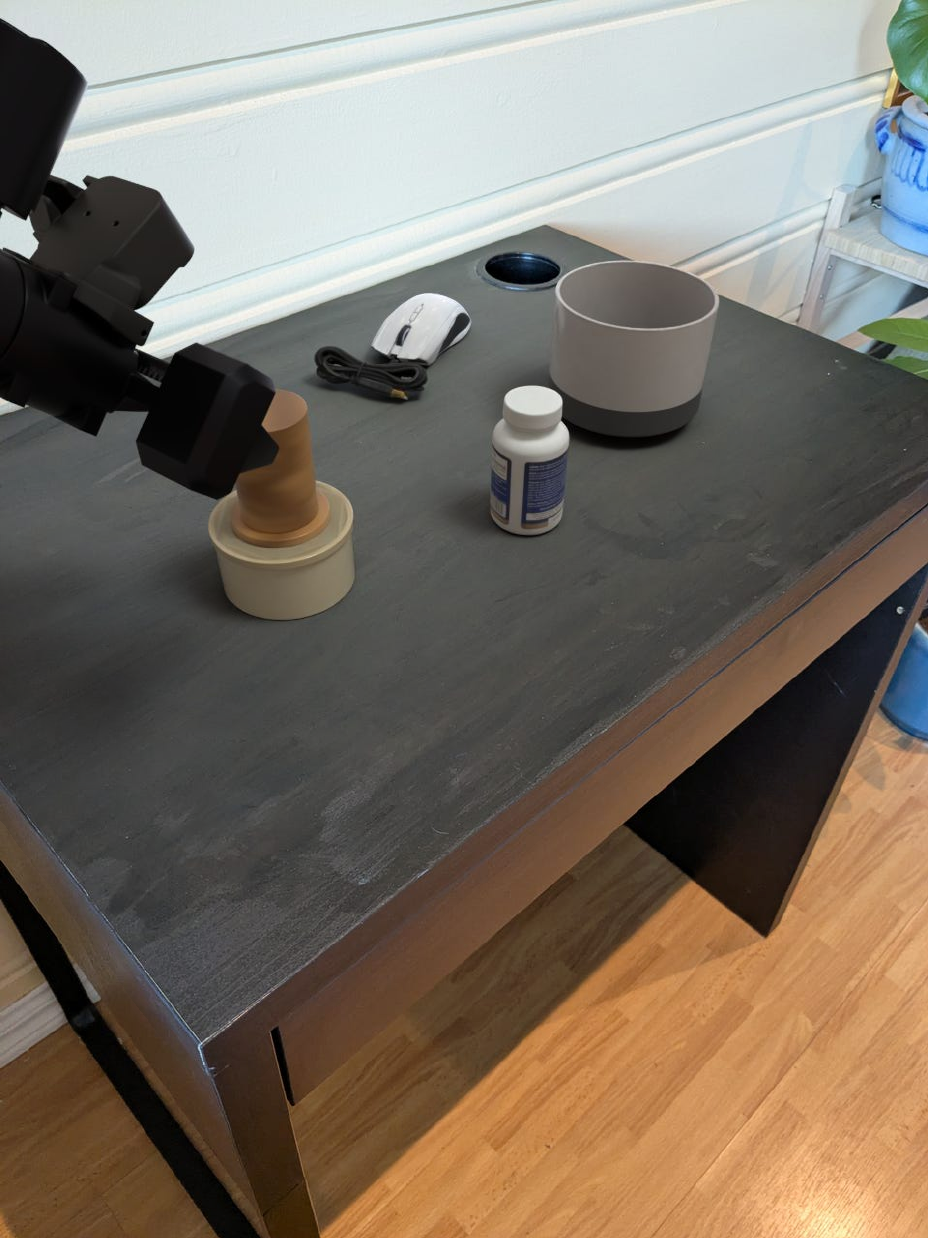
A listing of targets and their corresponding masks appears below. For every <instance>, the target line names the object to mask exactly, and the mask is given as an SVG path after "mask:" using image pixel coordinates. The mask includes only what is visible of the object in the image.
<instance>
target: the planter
mask: <svg viewBox="0 0 928 1238" xmlns="http://www.w3.org/2000/svg"><path fill="white" fill-rule="evenodd" d="M555 285H556V286H555V290H554V302H553V303H554V304H553V315H552V316H553V317H552V328H551V329H552V330H551V342H550V353H549V354H550V355H549V366H548V367H549V370H548V380H547V388H549V389H551V390H554V391H555V392H557V393H558V394H559V395H560V396H561V398H562V402H563V403H562V418H563V419H565V420H566V421H568V422H570V423H571V424H573V425H575V426H577V427H580V428H582V429H584V430H587V431H590V432H593V433H597V434H601V435H606V436H612V437H618V438H619V437H621V438H645V437H653V436H660V435H664V434H667V433H670V432H673V431H676V430H677V429H679V428H682V427H684V426H685V425H686V424H688V423H690V422H691V420H693V419H694V417H695V416H696V414H697V413H698V411H699V407H700V403H701V399H702V393H703V387H704V384H705V378H706V372H707V367H708V363H709V357H710V353H711V348H712V343H713V337H714V332H715V327H716V322H717V316H718V313H719V307H720V296H719V293H718V292H717V291H716V289H715V288H714V286H712V285H711V284H710V283H709V282H708V281H707V280H705V279H703V278H702V277H700V276H698V275H696V274H694V273H692V272H690V271H688V270H684V269H681V268H678V267H676V266H672V265H668V264H664V263H657V262H652V261H642V260H641V261H640V260H609V261H601V262H595V263H590V264H586V265H582V266H580V267H577V268H575V269H572V270H571V271H569V272H567V273H566V274H564V275H562V277H561V278H560V279H559V280H558V281H557V283H556V284H555Z"/></svg>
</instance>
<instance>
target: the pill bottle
mask: <svg viewBox="0 0 928 1238" xmlns="http://www.w3.org/2000/svg"><path fill="white" fill-rule="evenodd" d="M562 403H563V402H562V398H561V396H560V395H559V394H558V393H557V392H555V391H554V390H551V389H549V388H548V387H545V386H540V385H523V386H519V387H516V388H513V389H511V390H509V391H508V392H507V393H505V396H504V398H503V407H502V418H501V419H500V420H499V421H498V422H497V423H496V425H495V427H494V428H493V432H492V437H491V438H492V439H491V440H492V442H491V466H490V468H491V472H490V473H491V474H490V515H491V519H492V520H493V521H494V523H495V524H496V525H497V526H498V527H499V528H501V529H503V530H505V531H507V532H509V533H512V534H516V535H523V536H535V535H541V534H544V533H546V532H547V533H548V532H549V531H552V530H553V529H554V528H555V527H557V526H558V524H559V523H560V521H561V520H562V517H563V511H564V502H565V500H564V499H565V491H566V480H567V469H568V458H569V448H570V432H569V430H568V427H567V426H566V425H565V424H564V422H563V421H562V418H563V417H562Z"/></svg>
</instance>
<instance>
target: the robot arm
mask: <svg viewBox="0 0 928 1238" xmlns="http://www.w3.org/2000/svg"><path fill="white" fill-rule="evenodd" d="M88 83H89V82H88V80H87V79H86V77H85V76H84V74H83V73H82V72H81V71H80V69H78V67H77V66H76V65H75V64H74V63H73V62H71V61H70V60H69V59H68V58H67V57H66V56H65V55H64V54H63V53H61V52H60V50H58V49H56V48H55V47H54V46H53V45H52V44H51V43H49V42H47V41H45V40H43V39H41V38H37V37H33V36H30V35H28V34H27V33H25V32H24V31H22V30H21V29H19V28H17V27H16V26H15V25H12V24H11V23H10V22H9V21H6V20H5V19H3V18H2V17H0V219H2V217H3V214H4V213H3V211H6V212H7V213H9V214H11V215H13V216H14V217H16V218H19V219H20V220H23V221H26V222H27V221H28V218H29V222H30V225H31V227H32V230H33V232H32V236H33V237H34V238H35V239H36V241H37V242H38V244H37V248H36V249H35V251H34V252H33V254H32V255H31V256H30V258H29V257H27V256H25V255H23V254H21V253H19V252H17V251H14V250H13V249H9V248H7V247H2V248H0V399H2V400H4V401H6V402H8V403H11V404H14V405H16V406H18V407H20V408H23V409H25V408H26V406H28V407H30V408H32V409H35V410H37V411H40V412H43V413H45V414H47V415H49V416H51V417H53V418H55V419H57V420H58V421H61V422H63V423H65V424H67V425H69V426H71V427H72V428H74V429H77V430H78V431H81V432H83V433H85V434H89V435H90V436H93V437H97V436H98V435H99V432H100V431H101V428H102V425H103V423H104V421H105V419H106V416H107V414H114V412H125V413H126V412H129V413H147V414H146V417H145V419H144V421H143V423H142V425H141V428H140V430H139V433H138V434H137V437H136V439H135V444H136V449H137V452H138V456H139V460H140V463H141V466H143V467H144V468H147V469H149V470H150V471H153V472H155V473H156V474H158V475H160V476H162V477H163V478H166V479H168V480H170V481H171V482H174V483H176V484H178V485H180V486H182V487H184V488H186V489H187V490H189V491H191V492H194V493H197V494H199V495H203V496H205V497H207V498H210V499H213V500H215V501H220V499H221V500H222V499H223V498H225V497H226V496H227V495H229V494H231V493H232V492H233V489H234V487H235V486H236V485H235V483H236V480H237V478H238V476H239V474H241V473H245V472H248V471H252V470H255V469H259V468H262V467H266V466H269V465H272V464H273V462H274V460H275V458H276V456H277V454H278V452H279V445H278V444H277V443H276V442H275V440H274V439H273V438H272V437H271V436H270V434H269V433H268V432H267V431H266V429H265V428H264V427H263V426H262V423H263V420H264V418H265V416H266V414H267V412H268V409H269V407H270V405H271V403H272V400H273V398H274V396H275V394H276V392H275V389H276V388H275V384H274V381H273V377H271V376H269V375H268V374H266V373H264V372H263V371H261V370H259V369H258V368H256V367H254V366H252V365H251V364H250V363H247V362H245V361H243V360H240V359H238V358H235V357H233V356H230V355H228V354H226V353H223V352H221V351H220V350H216V349H214V348H212V347H209V346H207V345H204V344H202V343H199V342H196V341H195V342H194V343H192V344H190V345H188V346H185V347H184V348H181V349H179V350H178V351H175V352H174V353H173V356H172V358H171V359H170V362H168V361H167V360H164V359H161V358H160V357H158V356H155V355H153V354H150V353H148V352H145V351H143V350H141V349H139V348H137V346H138V347H144V346H145V345H146V343H147V341H148V338H149V335H150V333H151V331H152V329H153V326H154V325H155V321H153V320H151V319H149V318H148V317H147V316H144V315H143V314H141V313H139V312H137V311H138V310H140V309H141V308H143V307H145V306H146V305H148V304H149V303H150V302H151V301H152V300H153V299H154V297H156V295H157V294H158V293H159V292H160V291H161V289H162V288H163V287H164V286H165V285H166V283H168V281H169V280H170V279H171V278H172V277H173V275H174V274H175V273H176V272H177V271H178V270H179V268H185V267H186V266H187V265H188V264H189V262H191V259H193V256H194V255H195V245H194V244H193V242H192V241H191V238H189V236H188V234H187V233H186V232H185V230H184V228H183V227H182V225H181V223H180V222H179V220H178V219H177V217H176V215H175V214H174V213H173V211H172V209H171V208H170V206H169V204H168V203H167V201H166V199H165V198H164V196H163V194H162V193H161V192H160V191H159V190H157V189H155V188H152V187H149V186H146V185H143V184H141V183H136V182H133V181H132V180H127V179H124V178H121V177H118V176H114V175H106V176H102V177H99V178H97V177H95V176H92V175H89V174H87V175H85V177H84V178H83V179H82V183H83V184H84V186H85V187H86V188H83V187H81V186H78V185H76V184H75V183H73V182H71V181H69V180H67V179H64V178H62V177H59V176H55V175H53V174H52V171H53V169H54V167H55V164H56V163H57V160H58V158H59V155H60V154H61V151H62V149H63V146H64V144H65V141H66V139H67V136H68V134H69V132H70V129H71V127H72V125H73V122H74V120H75V118H76V115H77V113H78V111H79V109H80V106H81V104H82V101H83V99H84V97H85V94H86V92H87V90H88V87H89V85H88ZM2 210H3V211H2ZM147 377H148V378H149V379H148V378H147ZM150 379H151V380H154V381H156V382H158V383H160V385H159V386H157V385H156V384H155V383H153V381H151V380H150Z"/></svg>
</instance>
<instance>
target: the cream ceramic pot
mask: <svg viewBox="0 0 928 1238" xmlns="http://www.w3.org/2000/svg"><path fill="white" fill-rule="evenodd" d="M316 488H317V490H318V491H319V492H321V493H322V494H323V495H324V496H325V497H326V499H327V500H328V503H329V506H330V519H329V522H328V524H327V526H326V527H325V529H324V530H323V531H322V532H321V533H319V534H318V535H317V536H315V537H314V538H312V539H310V540H308V541H306V542H304V543H301V544H298V545H294V546H289V547H281V548H268V547H261V546H256V545H253V544H250V543H248V542H246V541H244V540H242V539H241V538H240V537H239V536H238V535H237V534H236V533H235V532H234V530H233V528H232V525H231V519H230V513H231V510H232V507H233V505H234V504H235V502H236V501H237V500H238V496H237V491H236V489H235V490H233V491H232V492H231V494H229V495H227V496H225V497H223V498H221V500H219V502H217V504H216V506H215V507H214V508H213V510H212V511H211V513H210V516H209V518H208V523H207V530H208V535H209V540H210V542H211V544H212V546H213V548H214V550H215V553H216V558H217V562H218V567H219V573H220V577H221V581H222V586H223V589H224V593H225V595H226V597H227V599H228V600H229V601H230V603H231V604H233V605H234V606H235V607H236V608H237V609H239V610H241V611H242V612H244V613H246V614H248V615H250V616H252V617H253V616H254V617H256V618H260V619H265V620H272V621H289V620H298V619H304V618H309V617H311V616H314V615H318V614H320V613H322V612H325V611H326V610H328V609H330V608H332V607H333V606H335V605H336V604H338V603H339V602H340V601H342V600H343V598H345V597H346V595H347V594H348V593H349V592H350V590H351V588H352V587H353V585H354V582H355V578H356V564H355V554H354V553H355V552H354V542H353V529H354V524H355V521H354V520H355V519H354V517H355V516H354V509H353V507H352V504H351V502H350V501H349V499H348V498H347V496H346V495H345V494H343V493H342V491H340V490H339V489H337V488H336V487H334V486H332V485H330V484H329V483H328V484H327V483H325V482H323V481H319V480H316Z"/></svg>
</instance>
